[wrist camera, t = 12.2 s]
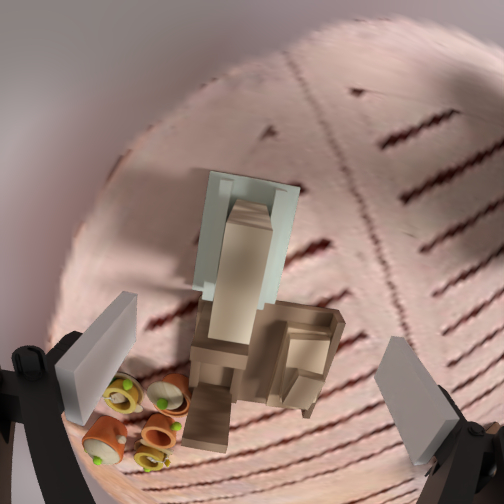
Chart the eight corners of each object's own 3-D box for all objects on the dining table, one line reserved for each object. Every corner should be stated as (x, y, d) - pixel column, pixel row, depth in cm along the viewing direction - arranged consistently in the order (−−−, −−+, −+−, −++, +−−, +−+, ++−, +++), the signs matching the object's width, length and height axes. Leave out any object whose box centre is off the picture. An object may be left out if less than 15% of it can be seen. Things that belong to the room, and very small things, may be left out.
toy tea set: (166, 465, 50) (156, 503, 41) (91, 433, 48) (74, 468, 39) (212, 377, 44) (204, 424, 34) (113, 334, 42) (85, 372, 33)
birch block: (266, 204, 35) (273, 230, 22) (250, 280, 38) (249, 344, 24) (237, 198, 35) (226, 222, 22) (223, 275, 38) (207, 337, 24)
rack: (338, 310, 40) (366, 364, 28) (306, 402, 44) (317, 463, 33) (202, 287, 39) (182, 338, 28) (190, 386, 44) (174, 447, 32)
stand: (298, 187, 36) (304, 190, 32) (274, 300, 40) (276, 316, 36) (211, 170, 36) (205, 172, 31) (193, 285, 39) (187, 300, 35)
